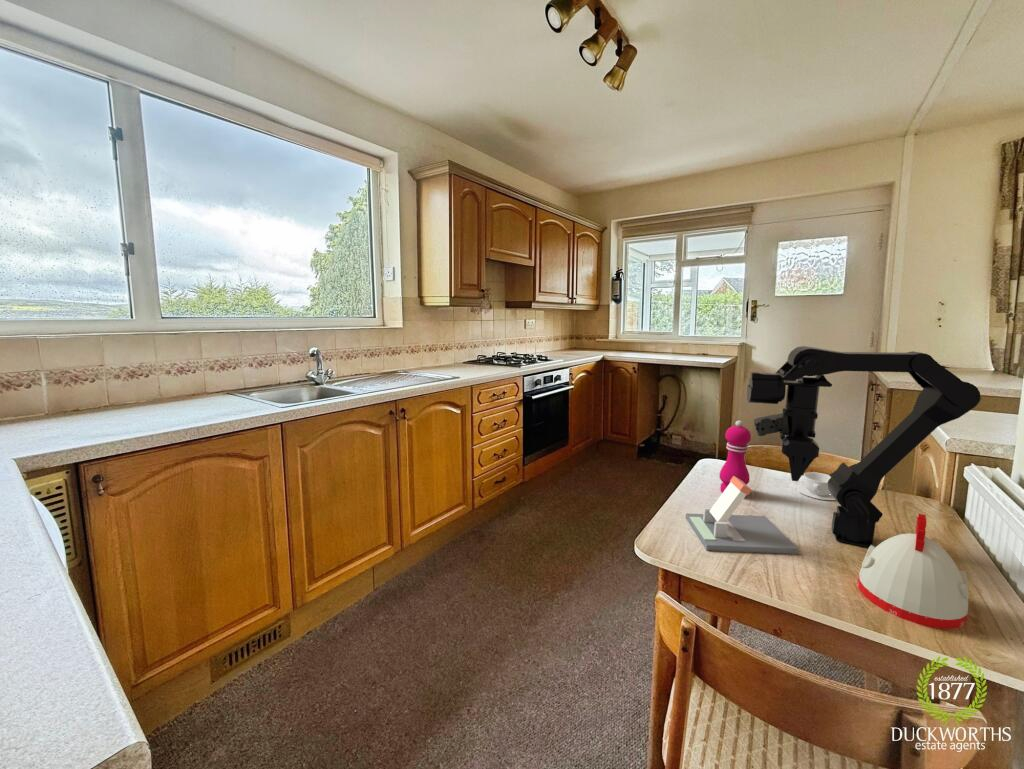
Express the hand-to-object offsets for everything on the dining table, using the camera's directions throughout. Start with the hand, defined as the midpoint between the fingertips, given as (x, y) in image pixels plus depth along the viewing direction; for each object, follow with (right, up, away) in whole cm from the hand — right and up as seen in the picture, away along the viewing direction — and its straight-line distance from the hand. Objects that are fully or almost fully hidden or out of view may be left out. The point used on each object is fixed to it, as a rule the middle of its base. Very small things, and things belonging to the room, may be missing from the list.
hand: (793, 474), depth 97 cm
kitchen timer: (+6, -17, -21) cm, 28 cm away
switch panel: (-12, -13, 0) cm, 18 cm away
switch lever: (-17, -10, 0) cm, 20 cm away
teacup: (+20, -10, +21) cm, 31 cm away
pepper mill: (-2, -9, +22) cm, 24 cm away
